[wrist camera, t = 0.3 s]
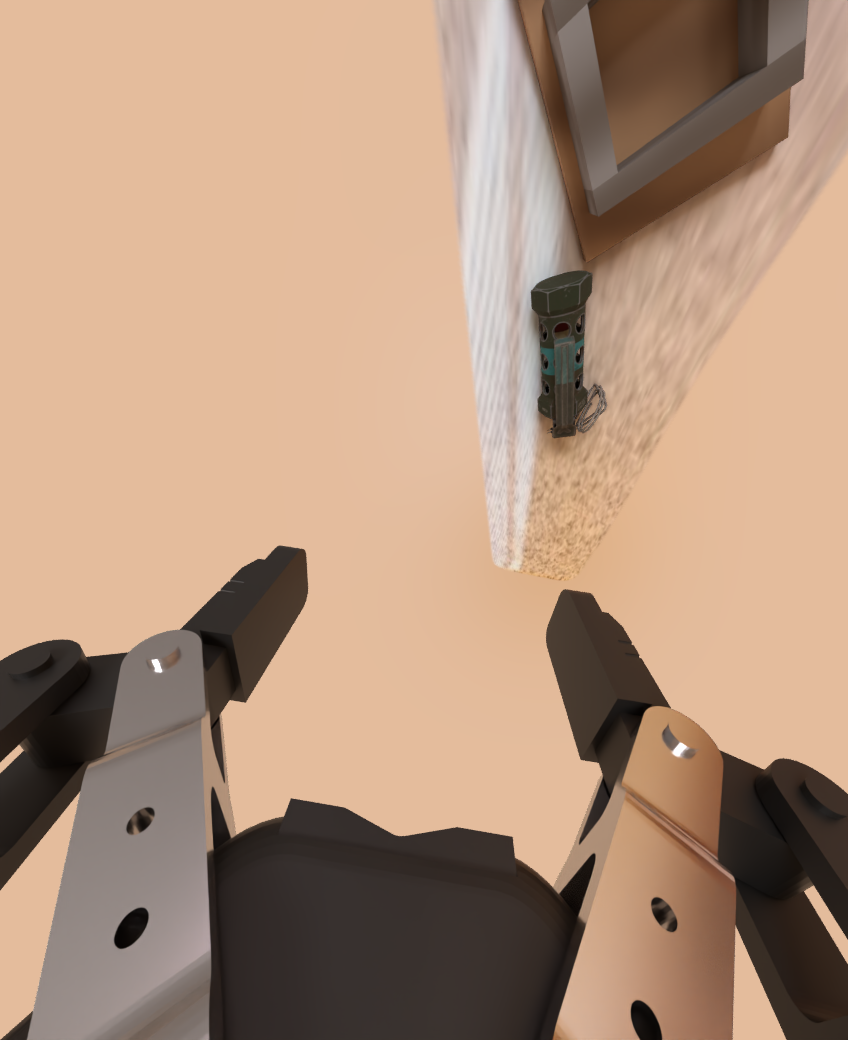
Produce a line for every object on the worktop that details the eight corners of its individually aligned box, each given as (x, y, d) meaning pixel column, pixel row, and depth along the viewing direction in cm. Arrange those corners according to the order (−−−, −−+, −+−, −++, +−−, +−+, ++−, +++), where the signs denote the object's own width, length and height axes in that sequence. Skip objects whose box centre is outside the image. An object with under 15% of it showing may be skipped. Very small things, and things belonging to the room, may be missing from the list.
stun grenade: (530, 281, 30) (539, 421, 39) (530, 301, 25) (539, 453, 35) (610, 258, 27) (599, 413, 37) (624, 276, 23) (607, 446, 32)
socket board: (506, -45, 19) (508, -83, 16) (798, -385, 13) (882, -535, 10) (584, 260, 27) (595, 270, 25) (778, 138, 22) (820, 133, 19)
